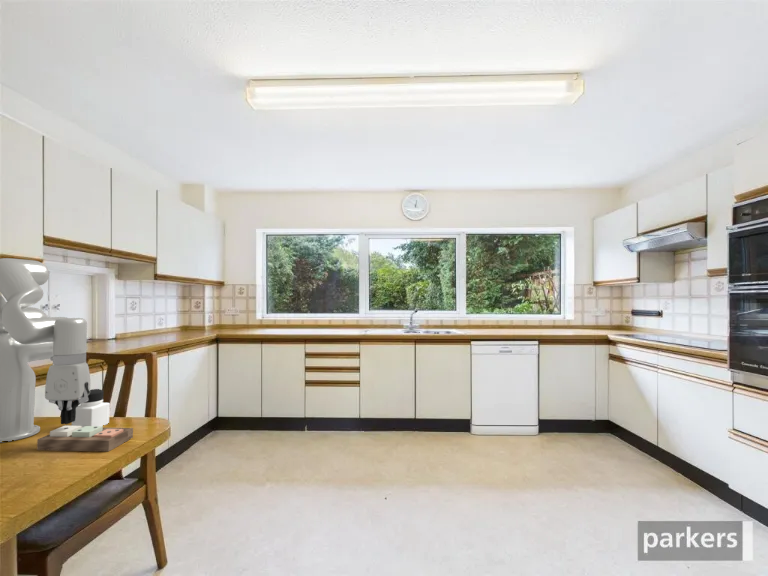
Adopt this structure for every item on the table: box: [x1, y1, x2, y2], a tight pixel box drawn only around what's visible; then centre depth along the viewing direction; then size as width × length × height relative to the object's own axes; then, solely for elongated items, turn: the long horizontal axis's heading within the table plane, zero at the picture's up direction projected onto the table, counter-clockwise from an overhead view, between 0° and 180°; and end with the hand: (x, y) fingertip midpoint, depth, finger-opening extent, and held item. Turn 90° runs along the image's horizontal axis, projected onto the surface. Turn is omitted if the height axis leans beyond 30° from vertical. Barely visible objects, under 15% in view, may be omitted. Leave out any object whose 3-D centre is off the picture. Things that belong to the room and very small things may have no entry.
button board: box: [36, 427, 134, 452], centre depth 108 cm, size 20×10×3 cm, turn 90°
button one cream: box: [49, 425, 82, 437], centre depth 108 cm, size 5×5×2 cm
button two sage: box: [72, 426, 104, 437], centre depth 108 cm, size 5×5×2 cm
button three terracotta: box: [94, 429, 124, 438], centre depth 108 cm, size 5×5×2 cm
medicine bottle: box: [71, 388, 111, 427], centre depth 122 cm, size 7×7×12 cm
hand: (68, 422), depth 108 cm, fingers closed
